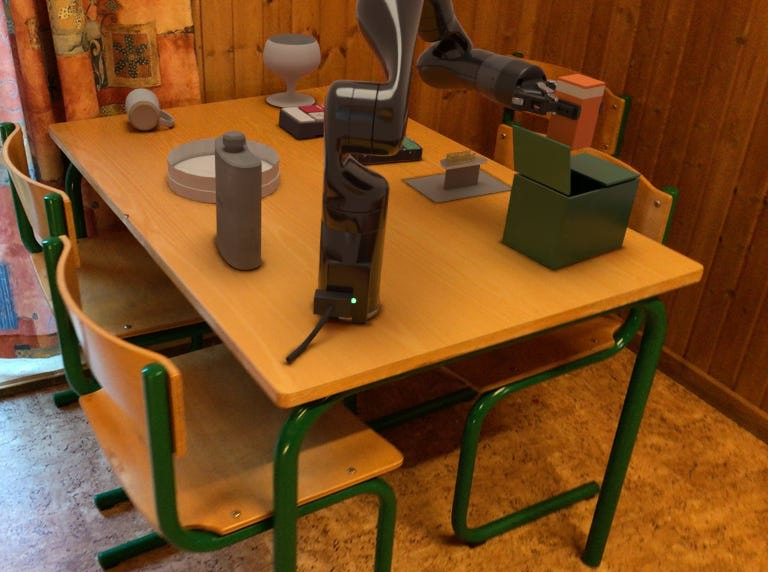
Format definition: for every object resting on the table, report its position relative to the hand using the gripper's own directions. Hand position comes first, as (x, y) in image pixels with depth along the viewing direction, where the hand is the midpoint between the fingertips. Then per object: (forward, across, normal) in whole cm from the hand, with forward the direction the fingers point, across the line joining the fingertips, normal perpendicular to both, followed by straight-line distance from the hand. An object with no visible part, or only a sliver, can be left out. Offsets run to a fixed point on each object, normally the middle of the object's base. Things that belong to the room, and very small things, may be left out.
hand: (589, 110), depth 129 cm
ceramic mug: (-93, -32, +25) cm, 102 cm away
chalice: (-94, +6, +25) cm, 97 cm away
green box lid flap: (-3, -5, +8) cm, 10 cm away
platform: (-32, +6, +25) cm, 41 cm away
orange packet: (-3, 0, +6) cm, 7 cm away
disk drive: (-53, +3, +25) cm, 59 cm away
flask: (-28, -46, +25) cm, 60 cm away
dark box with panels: (-74, +1, +25) cm, 78 cm away
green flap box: (-3, +4, +25) cm, 25 cm away
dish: (-56, -33, +25) cm, 70 cm away
